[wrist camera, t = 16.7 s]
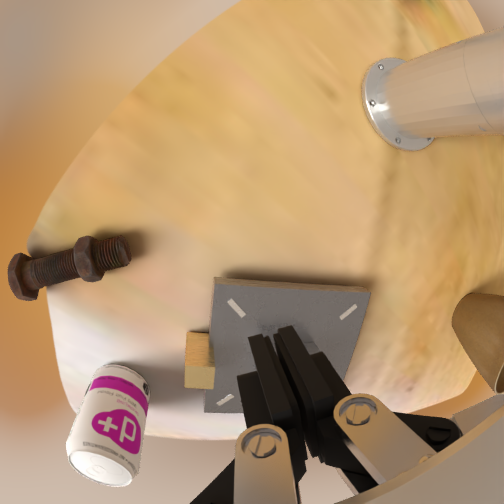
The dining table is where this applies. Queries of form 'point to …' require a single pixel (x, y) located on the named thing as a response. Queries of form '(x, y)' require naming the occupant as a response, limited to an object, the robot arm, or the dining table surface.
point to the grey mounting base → (268, 331)
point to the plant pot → (483, 335)
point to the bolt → (67, 265)
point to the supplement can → (110, 427)
